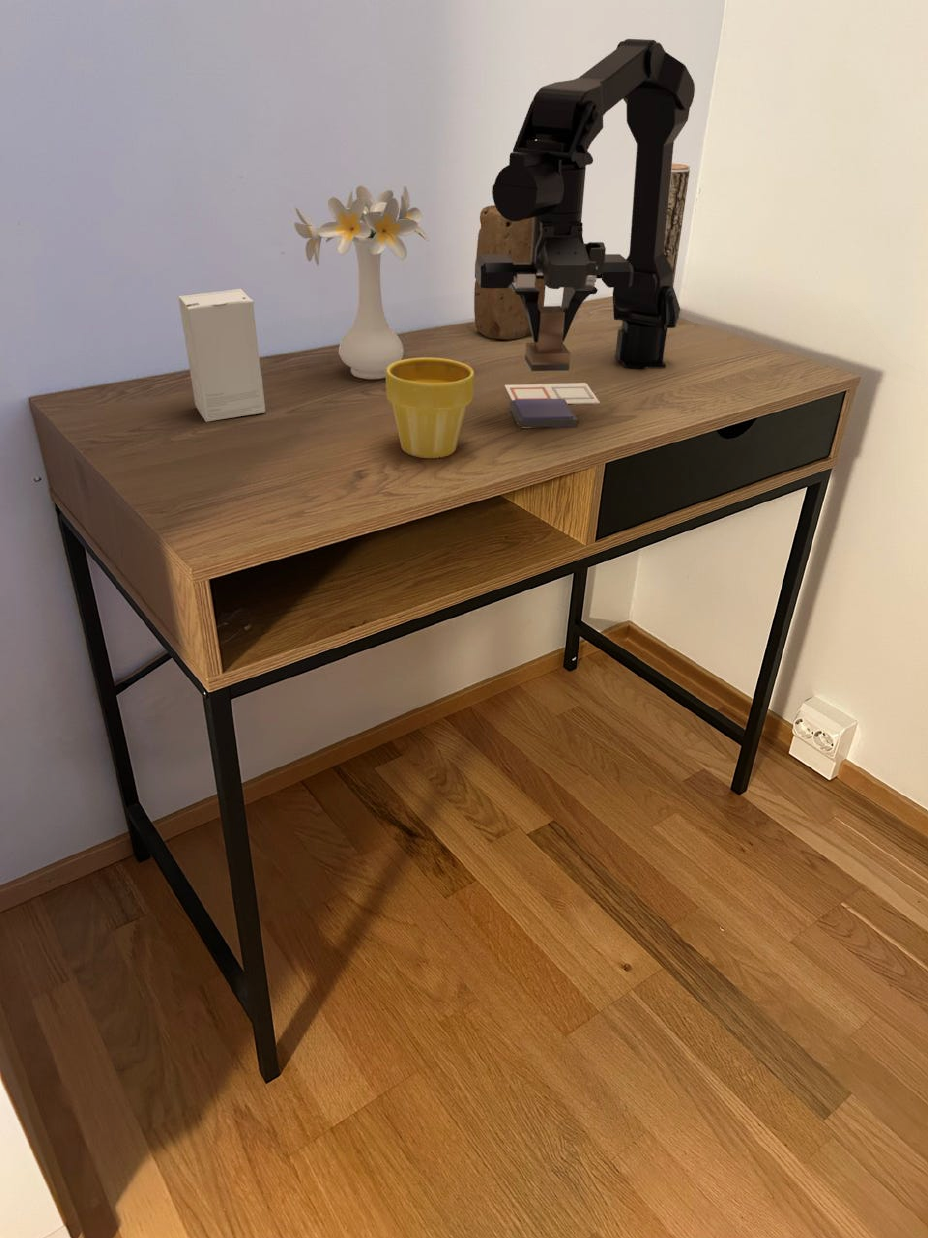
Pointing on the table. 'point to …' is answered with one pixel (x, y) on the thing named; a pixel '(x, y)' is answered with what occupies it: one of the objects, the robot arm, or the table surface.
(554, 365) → the stamp
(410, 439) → the plant pot
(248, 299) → the skincare box
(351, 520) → the table surface
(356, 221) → the flower vase
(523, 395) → the sheet
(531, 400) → the inkpad
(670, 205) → the bark patterned cylinder
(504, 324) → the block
